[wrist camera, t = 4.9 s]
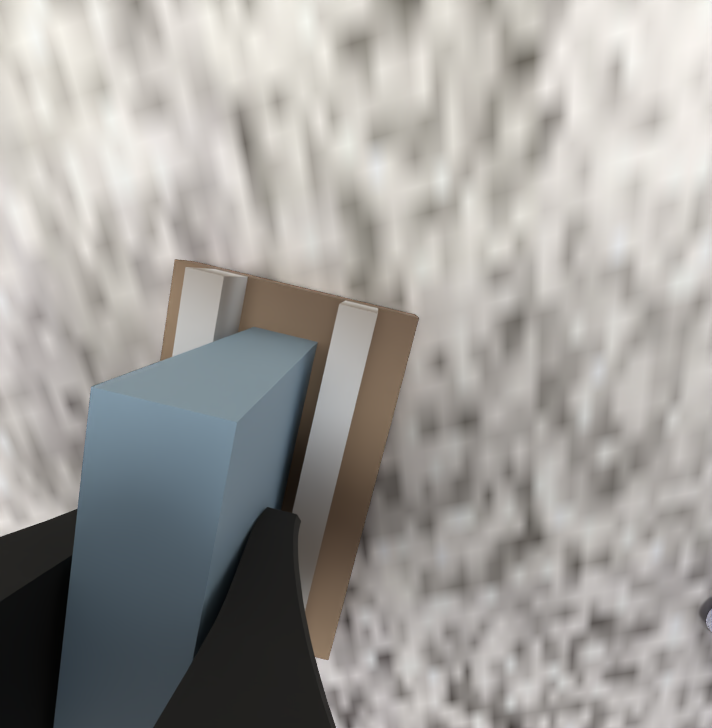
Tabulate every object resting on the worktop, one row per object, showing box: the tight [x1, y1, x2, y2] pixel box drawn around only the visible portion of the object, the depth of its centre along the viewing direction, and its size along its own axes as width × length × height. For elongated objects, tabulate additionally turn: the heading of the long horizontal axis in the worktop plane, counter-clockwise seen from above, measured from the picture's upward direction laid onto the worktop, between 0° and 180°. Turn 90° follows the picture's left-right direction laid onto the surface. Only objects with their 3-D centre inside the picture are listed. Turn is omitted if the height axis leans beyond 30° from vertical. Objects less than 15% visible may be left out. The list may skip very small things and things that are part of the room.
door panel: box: [53, 327, 318, 728], centre depth 8 cm, size 8×2×6 cm, turn 167°
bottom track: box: [160, 259, 419, 660], centre depth 11 cm, size 10×6×3 cm, turn 167°
